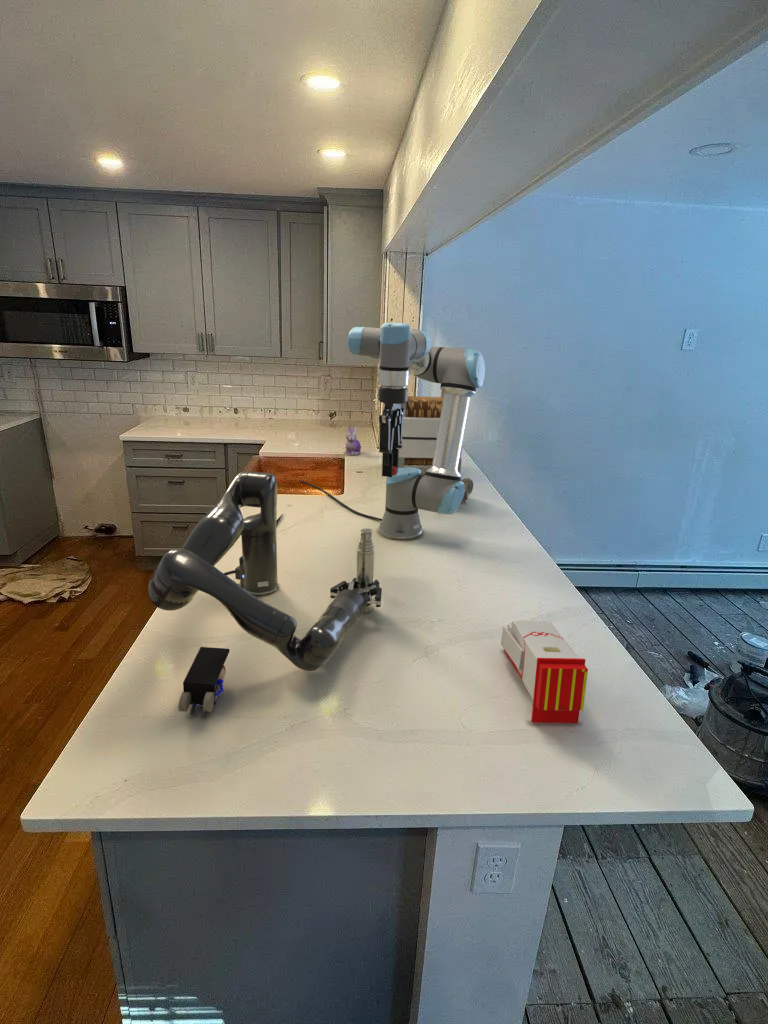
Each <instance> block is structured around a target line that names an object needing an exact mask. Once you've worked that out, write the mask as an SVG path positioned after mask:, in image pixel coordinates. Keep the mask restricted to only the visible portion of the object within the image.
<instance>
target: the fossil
mask: <svg viewBox="0 0 768 1024" xmlns="http://www.w3.org/2000/svg"><path fill="white" fill-rule="evenodd" d="M460 481H462V482H463V483H464V485H465V488H464V489H465V491H464V496H463V499H462V502H461V504H460V506H459V508H460V507H461V506H462V505H463V504H467V502H466V501H467V500H469V497H470V495H471V494H472V493H473V490H474V482H473V480H472V479H470V478H469V477H467V478H460Z"/></svg>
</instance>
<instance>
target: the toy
mask: <svg viewBox="0 0 768 1024" xmlns="http://www.w3.org/2000/svg"><path fill="white" fill-rule="evenodd" d="M500 645H501V646H502V648H503V652H504V654H505V655H506V657H507V658H508V660H509V661H510V663H511V664H512V666H513V668H514V669H515V671H516V672H517V674H518V676H519V677H520V679H521V680H522V683H523V685H524V686H525V688H526V690H527V692H528V694H529V696H530V697H531V699H532V708H531V719H530V722H531V723H532V724H579V719H580V712H583V711H584V706H585V697H586V689H587V680H588V671H589V669H588V667H587V666H586V659H585V658H580V657H579V656H578V655H577V654H576V652H575V651H574V650H573V648H572V647H571V646H570V645H569V644H568V642H567V641H566V640H565V638H564V637H563V636H562V634H561V633H560V632H559V631H558V630H557V628H556V627H555V626H554V624H553V623H552V622H551V621H549V620H548V621H545V620H540V621H539V620H511V622H508V623H507V626H502V632H501V638H500Z"/></svg>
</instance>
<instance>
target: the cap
mask: <svg viewBox="0 0 768 1024" xmlns="http://www.w3.org/2000/svg"><path fill="white" fill-rule="evenodd" d="M393 475H397V467H396V466H393V472H392V476H393Z"/></svg>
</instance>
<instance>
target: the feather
mask: <svg viewBox="0 0 768 1024" xmlns="http://www.w3.org/2000/svg"><path fill="white" fill-rule="evenodd" d="M283 515H284V513H282V514H281V515H280V516H279V517H277V520H276V527H277V526H278V525H279V522H280V520H281V519H282V517H283Z"/></svg>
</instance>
